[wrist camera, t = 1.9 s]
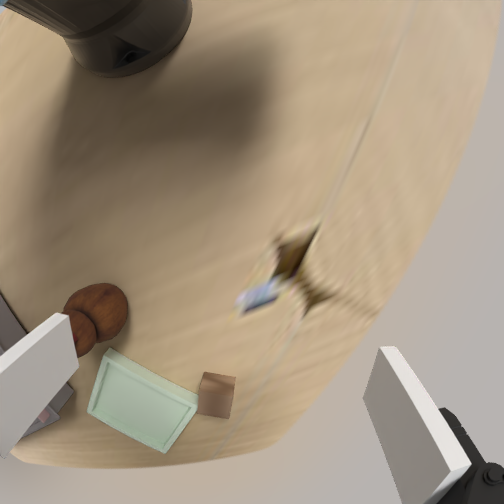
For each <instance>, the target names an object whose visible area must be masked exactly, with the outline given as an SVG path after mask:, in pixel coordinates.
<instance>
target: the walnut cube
mask: <svg viewBox="0 0 504 504" xmlns="http://www.w3.org/2000/svg"><path fill="white" fill-rule="evenodd" d="M235 378H236V377H232V376H226V375H220V374H214V373H208V372H204V375H203V378H202V382H201V385H200V389H199V396H198V408H197V414H203V415H208V416H214V417H220V418H226V419H229V417H230V411H231V406H232V400H233V394H234V386H235Z"/></svg>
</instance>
